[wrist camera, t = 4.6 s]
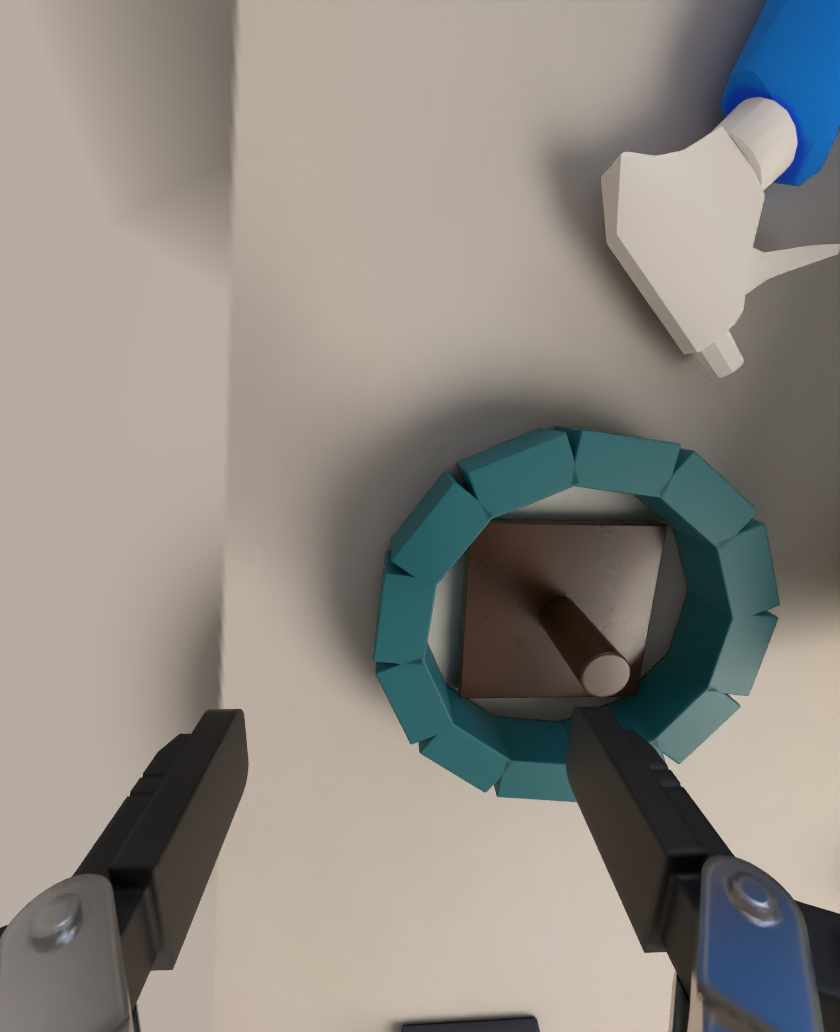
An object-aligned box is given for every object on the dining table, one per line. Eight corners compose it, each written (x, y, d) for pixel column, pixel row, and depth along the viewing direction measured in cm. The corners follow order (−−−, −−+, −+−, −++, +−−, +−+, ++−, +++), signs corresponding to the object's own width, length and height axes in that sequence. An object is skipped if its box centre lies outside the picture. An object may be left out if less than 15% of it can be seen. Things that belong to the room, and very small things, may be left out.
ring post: (457, 689, 18) (476, 778, 14) (467, 518, 16) (493, 559, 12) (629, 687, 19) (699, 773, 14) (658, 521, 17) (750, 561, 12)
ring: (361, 740, 19) (356, 788, 16) (404, 403, 15) (406, 403, 13) (669, 763, 20) (705, 811, 18) (775, 458, 16) (837, 467, 14)
